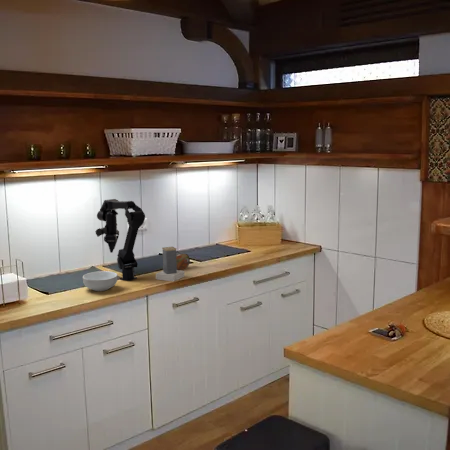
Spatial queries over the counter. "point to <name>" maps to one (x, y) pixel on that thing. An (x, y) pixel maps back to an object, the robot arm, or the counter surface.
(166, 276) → the stand
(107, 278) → the cereal bowl
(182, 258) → the mottled brown rounded slab
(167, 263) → the block
